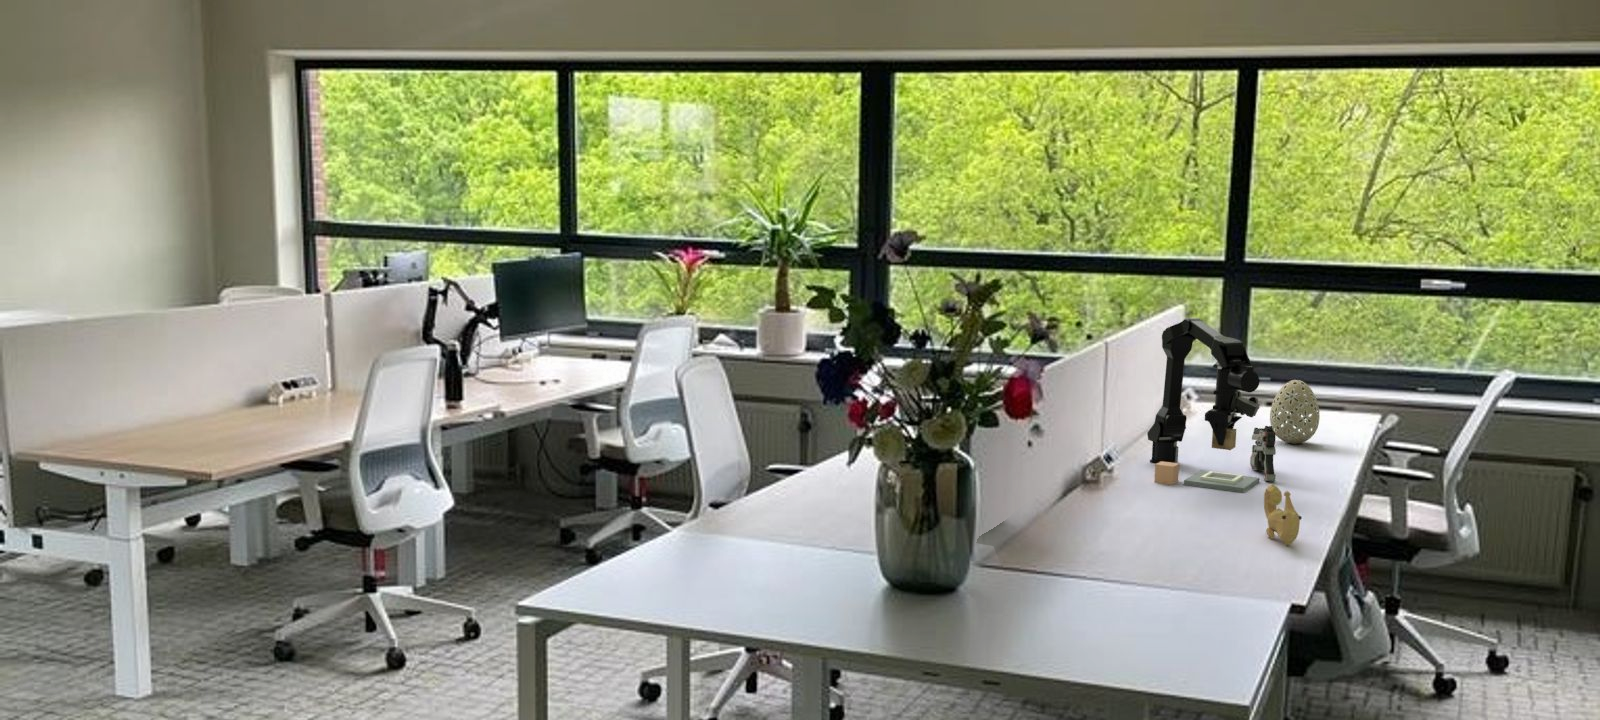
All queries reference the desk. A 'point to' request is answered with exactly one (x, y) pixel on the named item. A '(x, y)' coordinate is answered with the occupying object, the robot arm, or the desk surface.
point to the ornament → (1294, 413)
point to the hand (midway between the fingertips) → (1223, 443)
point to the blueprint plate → (1221, 481)
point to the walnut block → (1226, 440)
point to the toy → (1280, 515)
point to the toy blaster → (1264, 452)
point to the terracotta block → (1166, 472)
